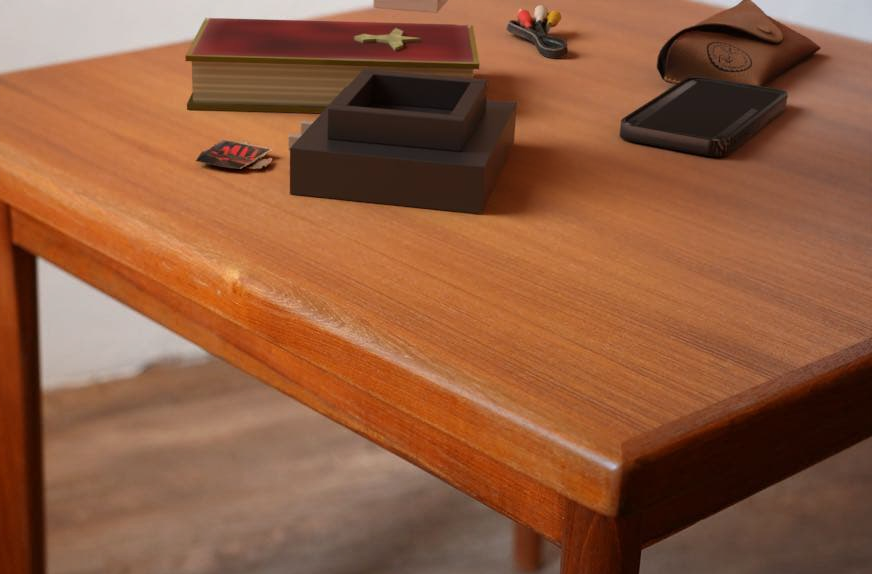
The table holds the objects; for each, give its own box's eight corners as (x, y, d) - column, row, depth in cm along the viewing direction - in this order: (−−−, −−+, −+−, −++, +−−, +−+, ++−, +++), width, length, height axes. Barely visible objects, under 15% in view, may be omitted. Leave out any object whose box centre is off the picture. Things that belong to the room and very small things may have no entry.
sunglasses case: (762, 93, 108) (729, 9, 107) (678, 125, 112) (645, 46, 112) (825, 47, 122) (796, -27, 121) (748, 78, 126) (719, 7, 125)
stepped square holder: (513, 144, 99) (519, 72, 97) (481, 214, 87) (486, 134, 85) (322, 126, 102) (323, 56, 100) (264, 191, 90) (264, 113, 88)
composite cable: (571, 59, 119) (574, 29, 118) (513, 58, 119) (516, 28, 118) (557, 30, 128) (559, 2, 127) (503, 29, 128) (505, 1, 127)
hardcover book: (207, 65, 116) (206, 13, 114) (469, 72, 115) (472, 20, 113) (187, 109, 105) (185, 51, 103) (476, 117, 104) (479, 60, 102)
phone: (615, 122, 100) (691, 74, 111) (614, 138, 100) (689, 88, 111) (726, 143, 96) (793, 90, 107) (724, 159, 96) (791, 105, 108)
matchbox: (191, 167, 93) (191, 159, 93) (215, 143, 98) (215, 136, 97) (261, 173, 92) (261, 166, 92) (282, 149, 97) (282, 142, 97)
